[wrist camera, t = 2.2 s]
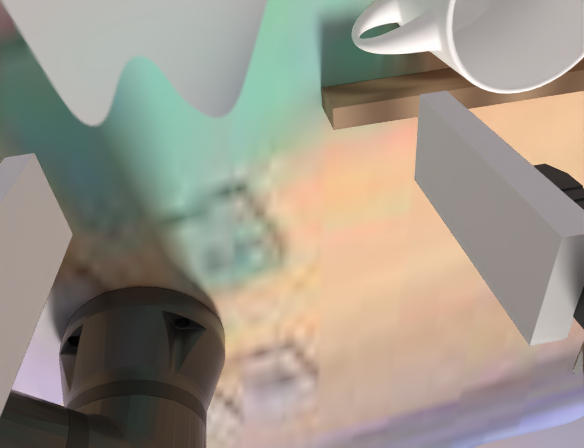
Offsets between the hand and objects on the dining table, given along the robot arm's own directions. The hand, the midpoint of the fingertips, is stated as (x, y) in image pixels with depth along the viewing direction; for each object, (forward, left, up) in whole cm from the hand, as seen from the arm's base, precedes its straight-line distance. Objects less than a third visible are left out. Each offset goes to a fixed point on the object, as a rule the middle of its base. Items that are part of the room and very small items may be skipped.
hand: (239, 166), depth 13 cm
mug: (+13, 0, -21) cm, 25 cm away
